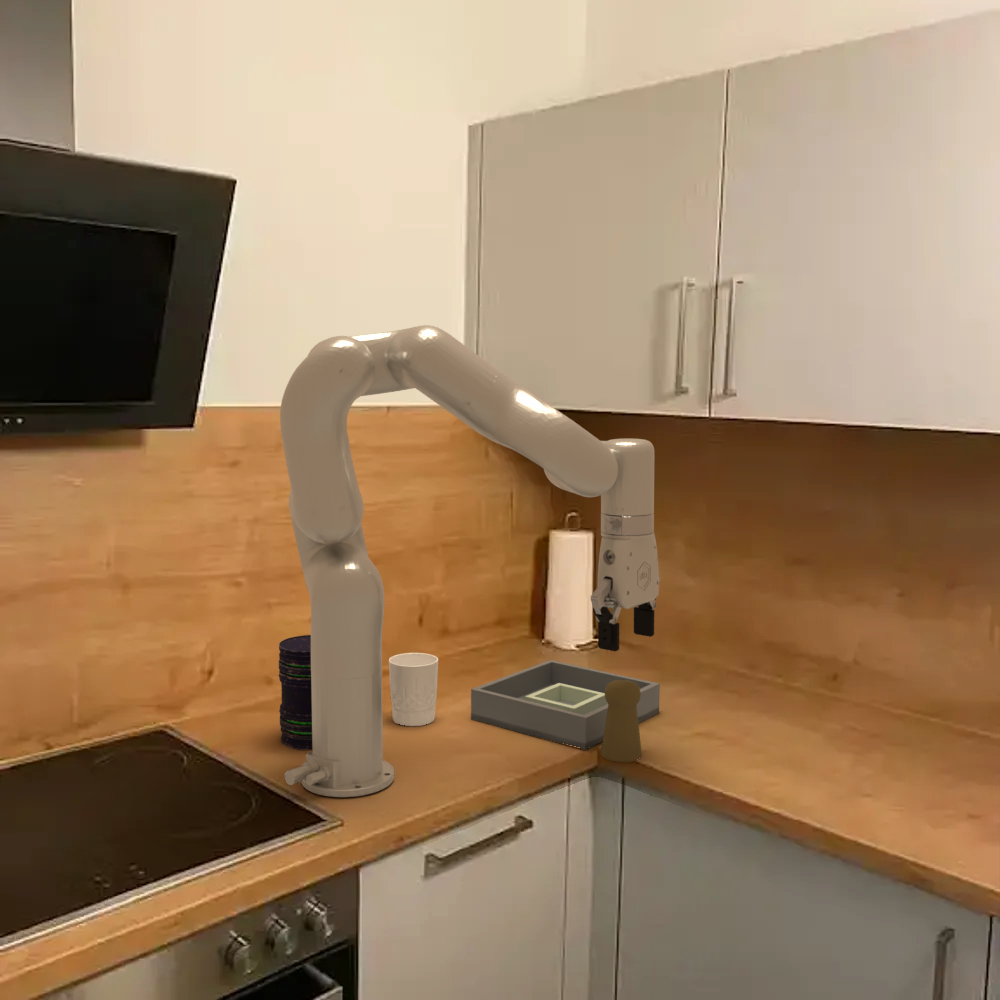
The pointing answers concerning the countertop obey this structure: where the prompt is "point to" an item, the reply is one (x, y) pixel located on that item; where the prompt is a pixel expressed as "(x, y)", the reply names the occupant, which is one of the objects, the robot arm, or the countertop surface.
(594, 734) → the open box
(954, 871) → the countertop surface
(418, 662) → the white cup
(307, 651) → the storage jar
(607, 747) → the brown pepper mill
